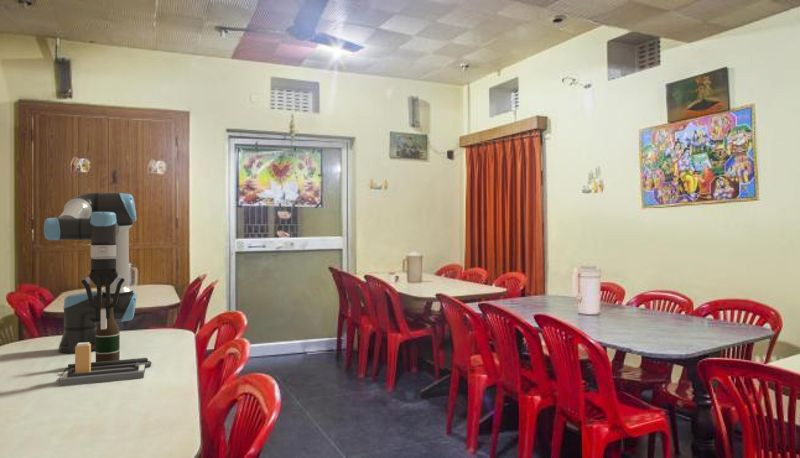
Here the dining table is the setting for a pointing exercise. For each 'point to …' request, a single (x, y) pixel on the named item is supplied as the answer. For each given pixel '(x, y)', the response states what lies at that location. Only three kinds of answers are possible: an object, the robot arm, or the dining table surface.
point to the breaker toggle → (83, 357)
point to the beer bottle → (108, 339)
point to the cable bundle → (115, 363)
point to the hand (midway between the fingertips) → (103, 328)
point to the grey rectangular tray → (103, 374)
